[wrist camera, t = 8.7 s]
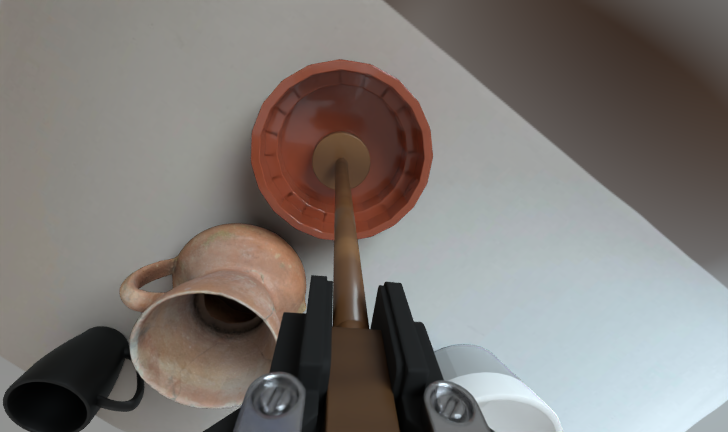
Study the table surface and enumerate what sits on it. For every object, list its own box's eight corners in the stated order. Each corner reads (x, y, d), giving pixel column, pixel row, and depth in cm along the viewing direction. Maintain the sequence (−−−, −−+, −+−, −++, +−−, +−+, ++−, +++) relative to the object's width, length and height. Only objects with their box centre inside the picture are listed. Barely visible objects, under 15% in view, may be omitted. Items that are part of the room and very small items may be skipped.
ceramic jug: (337, 251, 41) (338, 329, 28) (286, 337, 46) (266, 441, 32) (191, 183, 37) (111, 237, 24) (149, 285, 41) (60, 380, 28)
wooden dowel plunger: (315, 127, 35) (197, 369, 5) (373, 135, 36) (552, 388, 6) (310, 183, 37) (203, 583, 7) (364, 189, 38) (467, 578, 8)
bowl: (377, 420, 52) (386, 500, 42) (414, 319, 46) (436, 384, 36) (490, 434, 55) (524, 511, 45) (540, 340, 49) (593, 406, 39)
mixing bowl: (268, 51, 33) (254, 44, 28) (432, 78, 35) (450, 77, 30) (260, 210, 39) (248, 231, 33) (402, 226, 41) (412, 248, 35)
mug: (169, 375, 46) (130, 443, 37) (72, 364, 45) (7, 434, 36) (172, 326, 44) (130, 388, 35) (68, 312, 42) (-4, 374, 33)
